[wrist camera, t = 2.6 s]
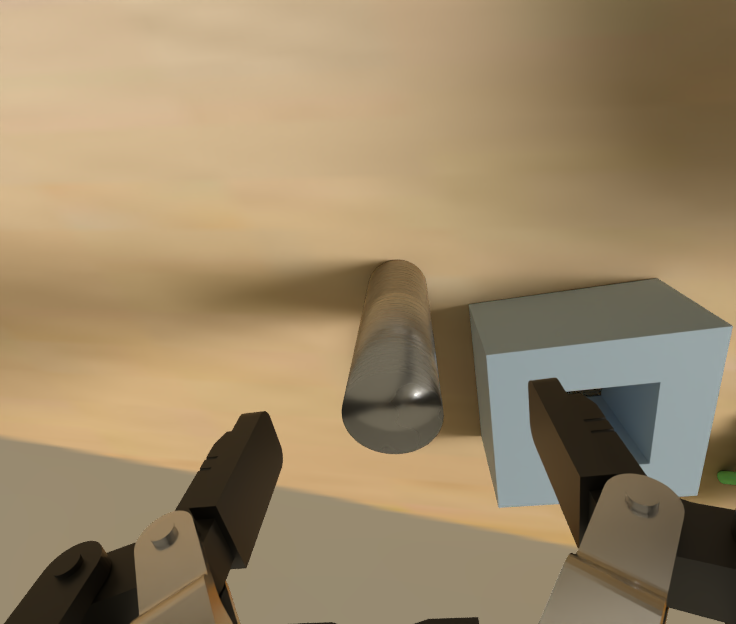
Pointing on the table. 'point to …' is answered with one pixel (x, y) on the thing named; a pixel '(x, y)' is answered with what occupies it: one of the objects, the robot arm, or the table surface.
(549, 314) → the socket block
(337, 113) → the table surface
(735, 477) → the teal lobed toy
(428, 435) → the pin
